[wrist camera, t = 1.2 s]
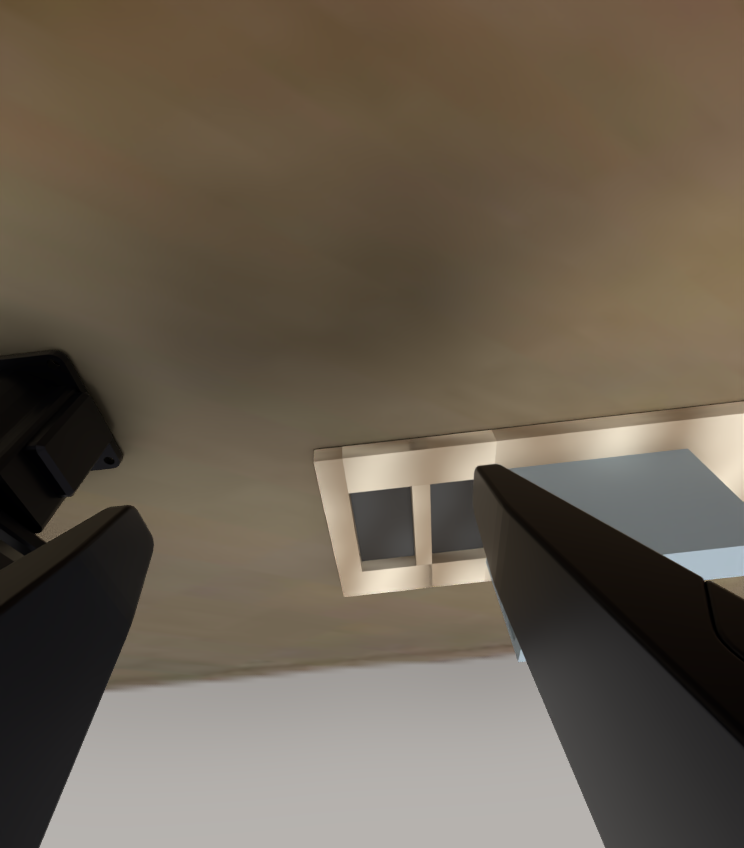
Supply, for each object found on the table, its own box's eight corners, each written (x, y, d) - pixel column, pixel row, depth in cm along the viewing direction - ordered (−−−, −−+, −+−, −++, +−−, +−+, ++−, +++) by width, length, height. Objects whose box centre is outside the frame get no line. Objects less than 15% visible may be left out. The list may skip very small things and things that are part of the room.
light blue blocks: (486, 562, 28) (518, 661, 23) (494, 470, 24) (536, 568, 19) (648, 544, 28) (715, 640, 23) (687, 448, 24) (783, 541, 19)
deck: (343, 584, 31) (344, 597, 30) (314, 449, 24) (313, 462, 23) (733, 540, 30) (744, 552, 30) (819, 392, 23) (836, 402, 23)
